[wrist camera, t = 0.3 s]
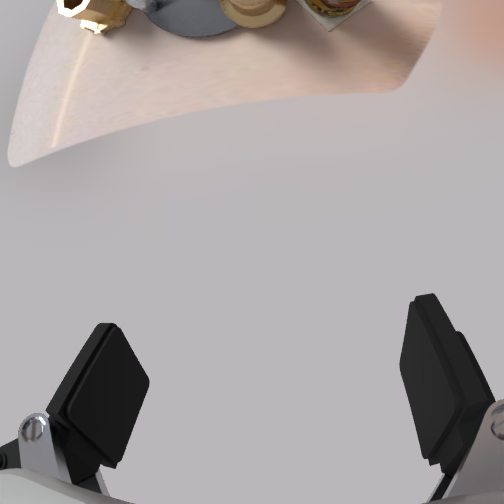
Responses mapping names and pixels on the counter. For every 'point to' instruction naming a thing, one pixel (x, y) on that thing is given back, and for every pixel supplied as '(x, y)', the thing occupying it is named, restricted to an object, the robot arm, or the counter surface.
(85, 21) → the gold hollow octagonal piece
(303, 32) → the counter surface
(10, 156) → the counter surface
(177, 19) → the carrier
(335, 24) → the condiment
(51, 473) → the robot arm
